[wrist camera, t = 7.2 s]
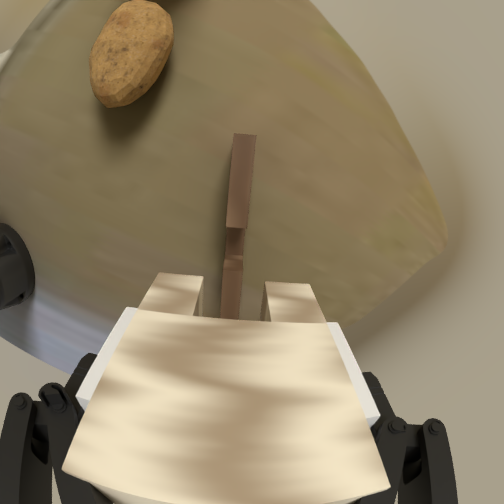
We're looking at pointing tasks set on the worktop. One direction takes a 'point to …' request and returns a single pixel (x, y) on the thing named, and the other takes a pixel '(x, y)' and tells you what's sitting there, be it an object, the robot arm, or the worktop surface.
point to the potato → (130, 52)
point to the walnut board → (236, 222)
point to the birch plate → (226, 407)
